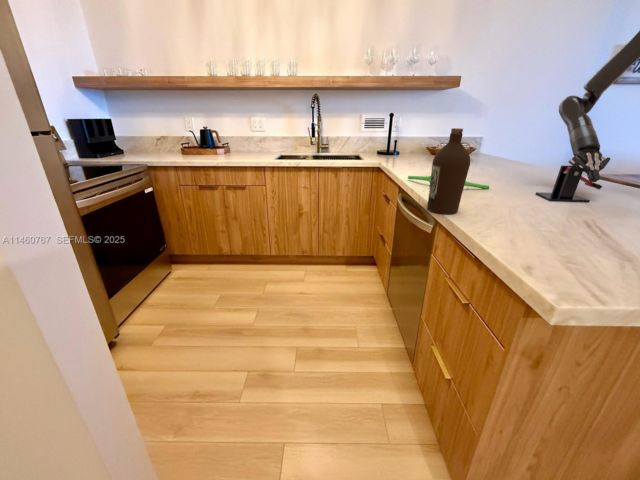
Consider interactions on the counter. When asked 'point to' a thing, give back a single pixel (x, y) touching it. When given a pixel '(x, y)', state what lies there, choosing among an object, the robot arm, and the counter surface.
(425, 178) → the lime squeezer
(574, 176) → the bracket
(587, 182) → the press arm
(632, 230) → the counter surface
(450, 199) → the olive oil
